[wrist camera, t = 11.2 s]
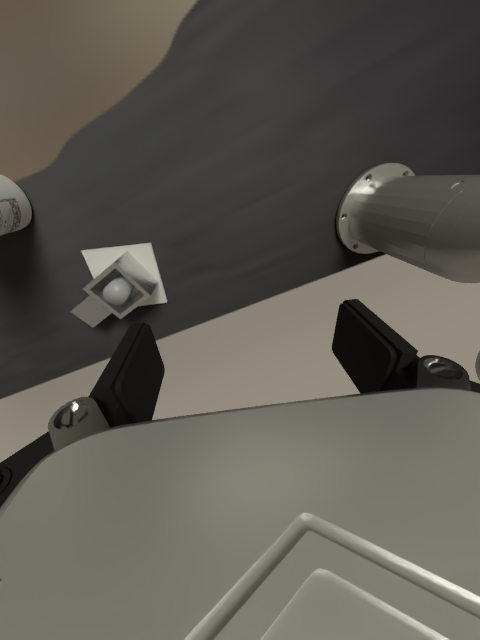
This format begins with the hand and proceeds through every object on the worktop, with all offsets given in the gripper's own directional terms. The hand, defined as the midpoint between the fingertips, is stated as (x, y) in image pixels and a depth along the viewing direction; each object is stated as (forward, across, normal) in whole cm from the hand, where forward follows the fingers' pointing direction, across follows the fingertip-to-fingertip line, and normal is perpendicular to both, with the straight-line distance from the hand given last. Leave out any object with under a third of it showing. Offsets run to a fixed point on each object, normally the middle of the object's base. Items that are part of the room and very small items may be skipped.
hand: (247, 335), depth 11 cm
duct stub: (+27, +16, +6) cm, 32 cm away
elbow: (+26, +19, +7) cm, 33 cm away
